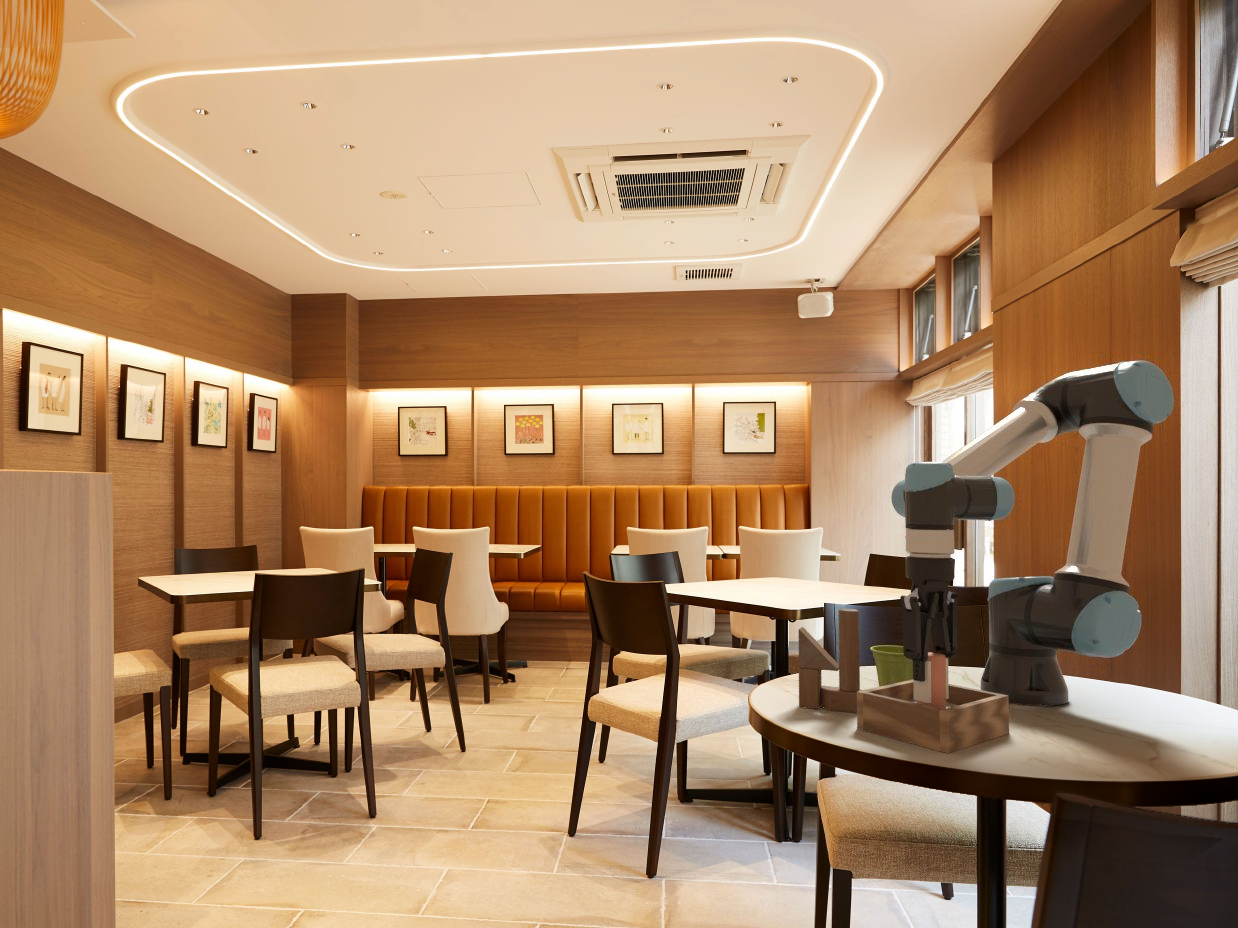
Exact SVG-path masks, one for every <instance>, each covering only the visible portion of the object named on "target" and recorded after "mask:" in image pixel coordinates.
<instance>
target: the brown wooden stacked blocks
mask: <svg viewBox="0 0 1238 928" xmlns="http://www.w3.org/2000/svg"><path fill="white" fill-rule="evenodd" d="M797 633H798V706H799V707H800V708H801V707H806V708H805V709H810V708H816V709H815V710H819V709H820V707H821V708H823V707H824V708H823V709H825V708H826V710H829V711H832V710H833V711H835V712H841V711H843V712H842V713H852V714H853V713H854V714H857V692H858V691H862V690H863V689H861V681H860V680H861V677H860V676H861V675H860V674H861V673H860V672H861V671H860V670H861V669H860V668H861V667H860V660H861V659H860V657H861V656H860V611H859V610H858V609H855V608H840V609H838V662H837V661H836V660H835V659H834V658H833V657H832V656H831V655H830V654H829V653H828V651H827V650H825V648H824V647H822V645H821V644H820V643H819V642H818V640H817V639H815V638H814V637H813V635H811V633H810V632H808V631H807V629H806V628H805V627H804V626H801V627H800V628H799V629H798V631H797ZM823 670H824V671H834V672H837V671H838V677H839V679H838V682H839V683H838V684H839V685H838V687H837V686H828V685H822V671H823ZM818 708H819V709H818ZM833 711H832V712H833Z"/></svg>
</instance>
